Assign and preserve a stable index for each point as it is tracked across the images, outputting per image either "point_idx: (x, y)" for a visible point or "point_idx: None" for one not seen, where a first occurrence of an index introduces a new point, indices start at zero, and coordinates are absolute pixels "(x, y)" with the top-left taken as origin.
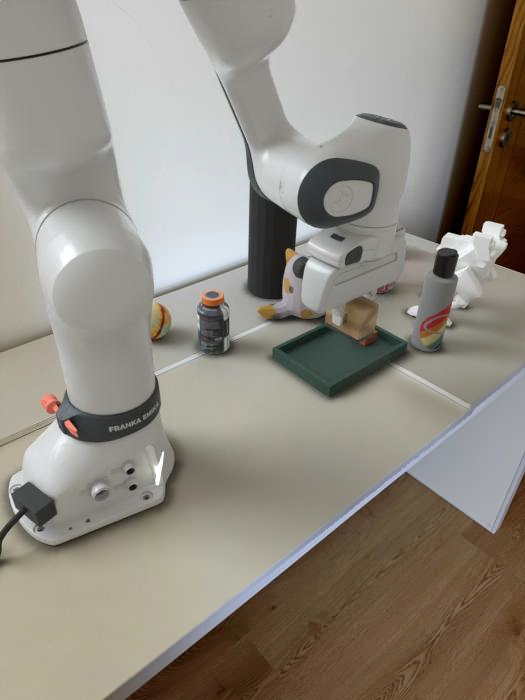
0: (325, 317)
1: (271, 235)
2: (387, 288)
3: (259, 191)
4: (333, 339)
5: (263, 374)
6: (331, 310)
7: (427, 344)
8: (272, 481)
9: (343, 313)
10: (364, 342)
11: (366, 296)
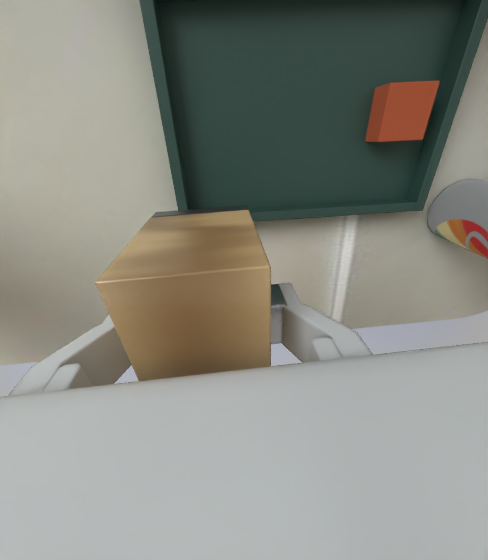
0: (146, 223)
1: None
2: None
3: None
4: (339, 56)
5: (89, 53)
6: (81, 336)
7: (440, 231)
8: (13, 300)
9: (120, 375)
10: (370, 139)
11: (306, 345)
